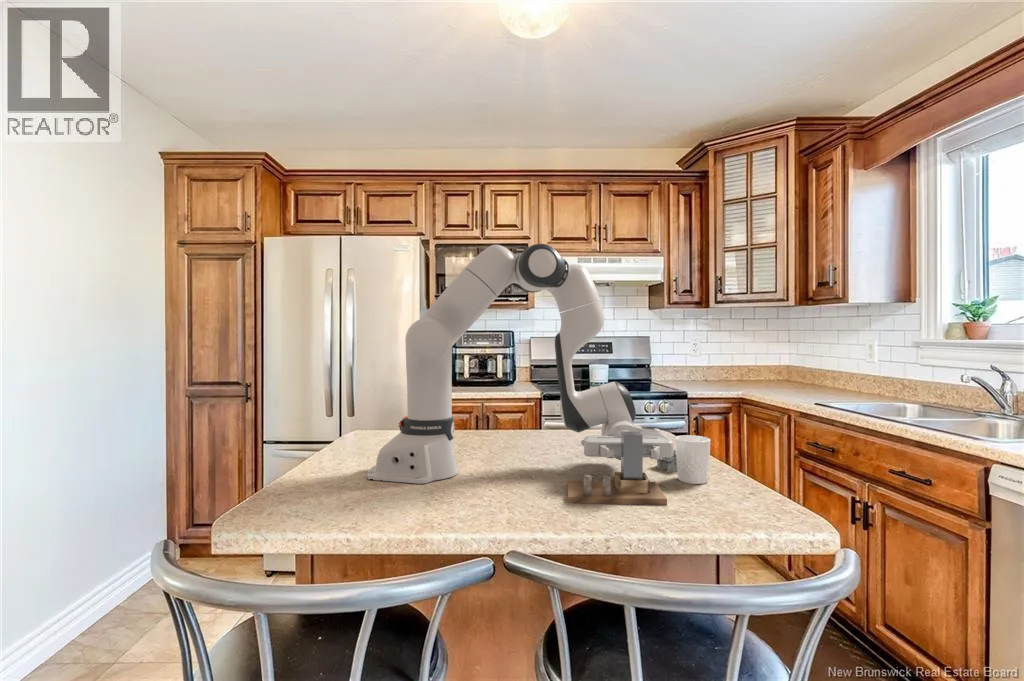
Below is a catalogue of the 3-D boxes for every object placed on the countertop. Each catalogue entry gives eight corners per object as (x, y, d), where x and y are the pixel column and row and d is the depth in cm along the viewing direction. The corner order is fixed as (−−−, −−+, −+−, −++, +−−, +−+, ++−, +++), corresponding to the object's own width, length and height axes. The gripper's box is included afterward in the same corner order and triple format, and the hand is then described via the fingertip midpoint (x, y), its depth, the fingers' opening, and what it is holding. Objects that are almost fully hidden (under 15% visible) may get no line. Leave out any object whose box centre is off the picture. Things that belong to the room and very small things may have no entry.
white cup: (715, 485, 117) (715, 441, 117) (681, 485, 117) (681, 441, 117) (703, 475, 125) (703, 435, 124) (671, 475, 125) (671, 435, 125)
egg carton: (680, 463, 138) (681, 448, 138) (703, 469, 131) (703, 453, 131) (651, 467, 133) (651, 452, 133) (673, 474, 126) (673, 458, 126)
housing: (568, 502, 105) (568, 477, 105) (566, 485, 117) (566, 462, 117) (667, 504, 104) (667, 479, 103) (655, 486, 116) (655, 464, 115)
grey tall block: (623, 490, 109) (623, 434, 109) (621, 484, 113) (621, 431, 113) (642, 490, 109) (642, 435, 109) (639, 485, 113) (639, 431, 113)
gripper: (580, 427, 125) (584, 439, 111) (665, 428, 123) (679, 441, 109) (580, 453, 125) (584, 468, 111) (665, 454, 123) (679, 470, 109)
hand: (632, 454), depth 110 cm, fingers open, 8 cm apart
